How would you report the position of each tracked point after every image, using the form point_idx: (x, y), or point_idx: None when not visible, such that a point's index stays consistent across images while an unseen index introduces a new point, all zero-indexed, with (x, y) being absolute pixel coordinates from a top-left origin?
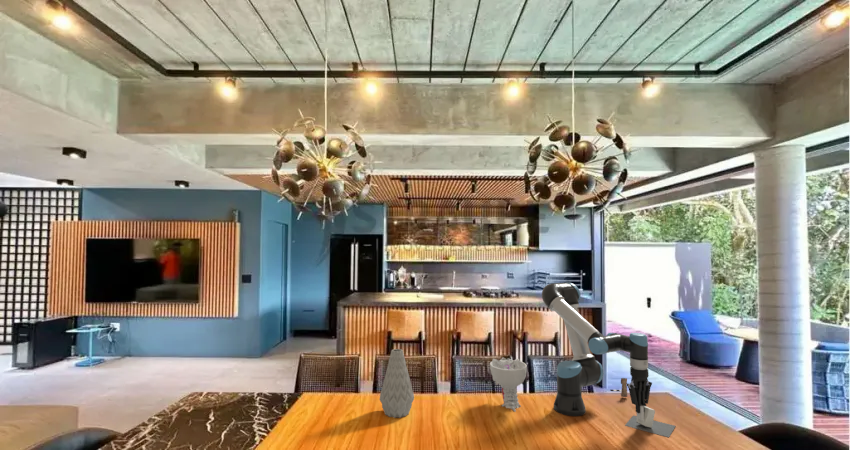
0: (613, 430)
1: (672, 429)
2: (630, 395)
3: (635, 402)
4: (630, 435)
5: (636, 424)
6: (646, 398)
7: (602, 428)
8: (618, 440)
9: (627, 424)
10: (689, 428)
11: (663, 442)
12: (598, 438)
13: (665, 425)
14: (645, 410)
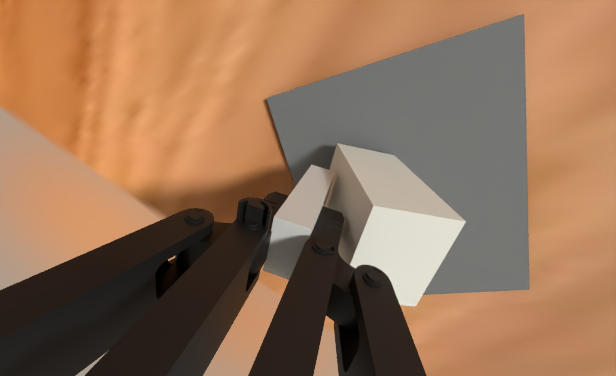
0: (167, 91)
1: (448, 290)
2: (56, 273)
3: (158, 278)
4: (202, 178)
5: (344, 136)
6: (341, 373)
7: (128, 34)
8: (118, 169)
9: (294, 100)
10: (559, 336)
11: (271, 290)
12: (48, 103)
13: (483, 252)
14: (340, 252)
